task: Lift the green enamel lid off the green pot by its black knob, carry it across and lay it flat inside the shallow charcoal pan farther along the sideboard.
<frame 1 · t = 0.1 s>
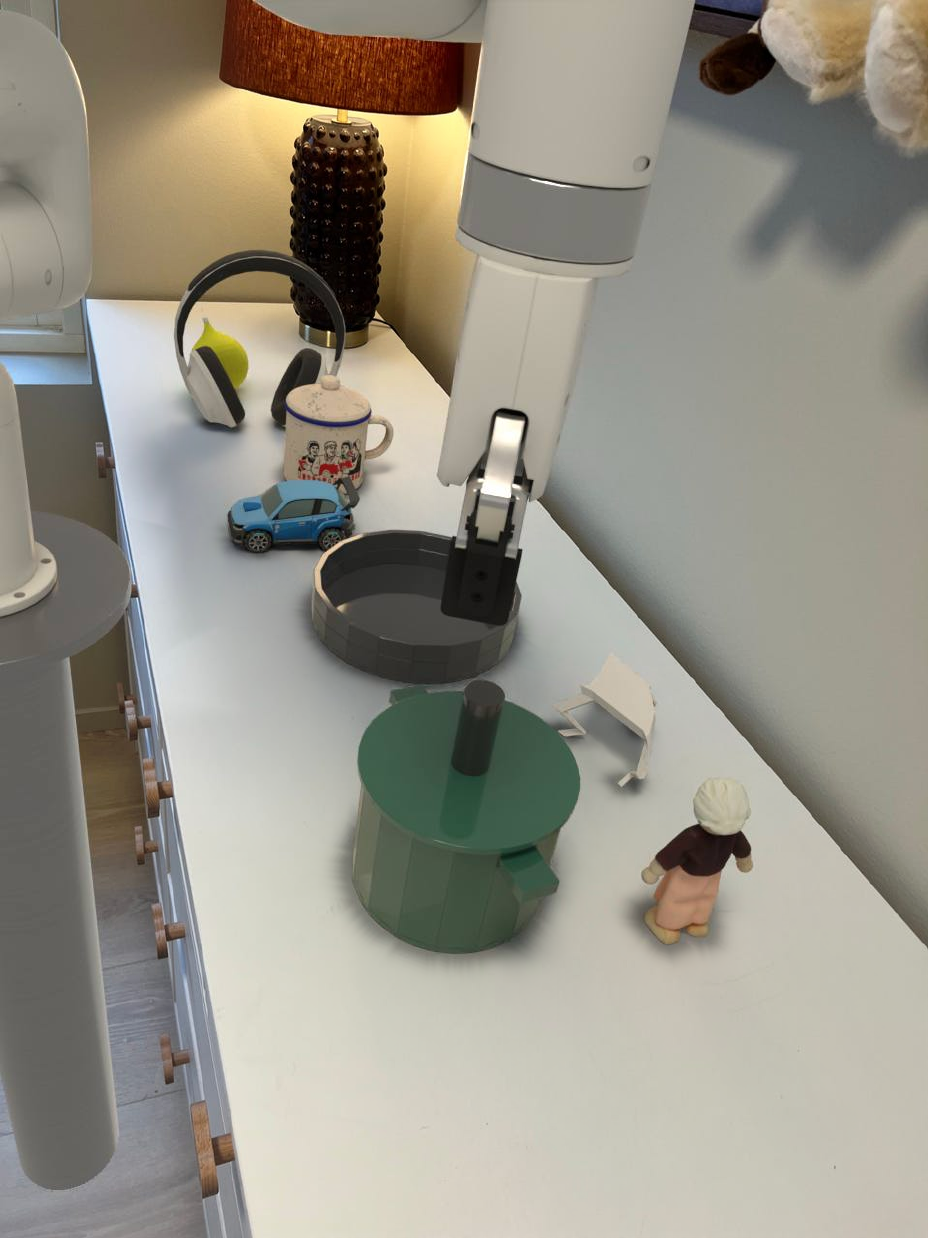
hand: (484, 564, 50), 25 cm above the dresser top, tool pointing down, fingers open, 9 cm apart
origami figure: (608, 747, 78), on the dresser top
headphones: (259, 424, 116), on the dresser top
teacup with lid: (335, 479, 108), on the dresser top
lid: (469, 768, 59), point 9 cm above the dresser top, touching pot
pan: (413, 619, 88), on the dresser top
toy car: (290, 539, 96), on the dresser top
yellow-green teardrop shape: (219, 391, 122), on the dresser top
grandmother figurine: (669, 926, 64), on the dresser top
pot: (447, 872, 65), on the dresser top
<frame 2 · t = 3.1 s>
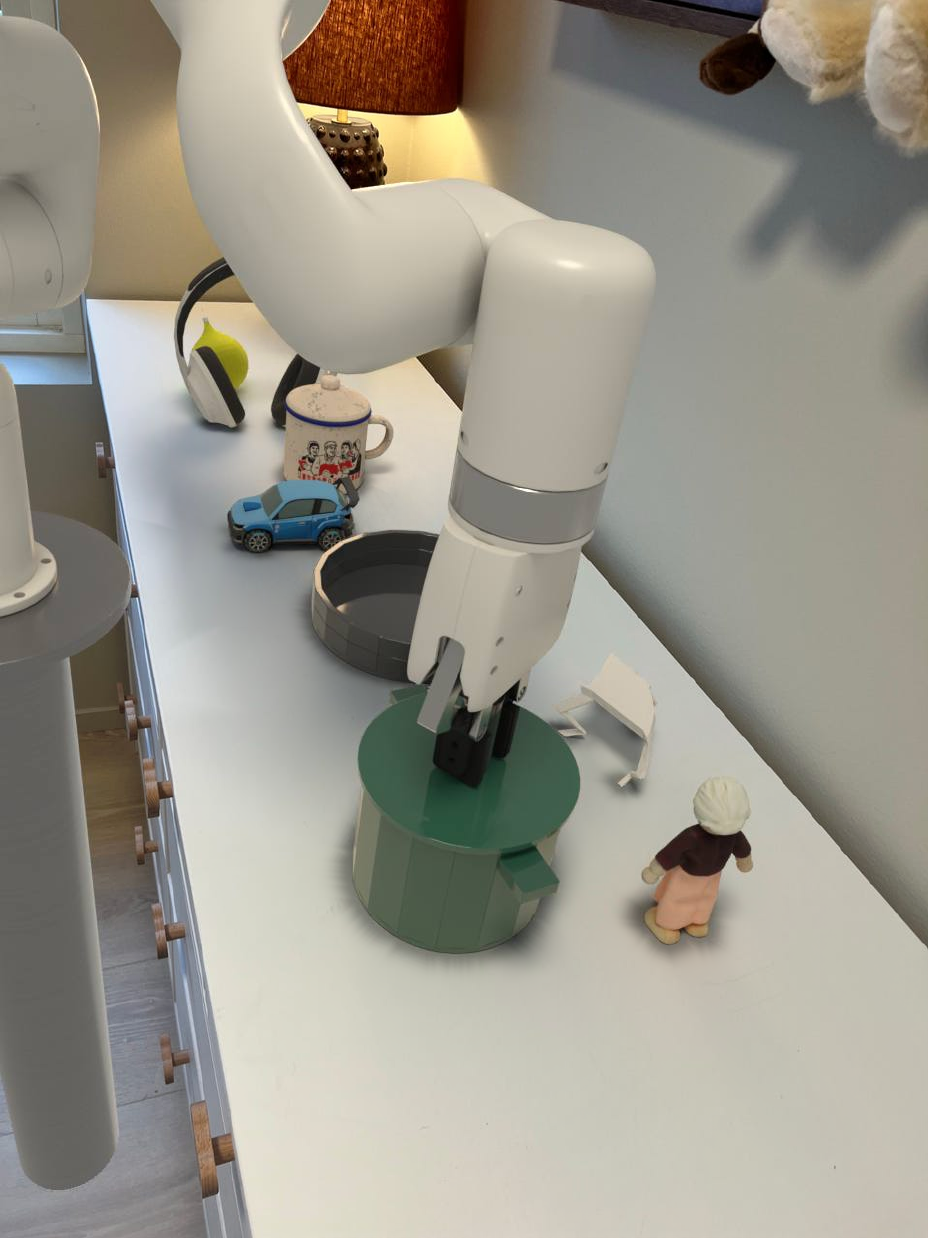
hand: (471, 758, 59), 10 cm above the dresser top, tool pointing down, fingers closed on lid, 2 cm apart
lid: (469, 768, 59), point 10 cm above the dresser top, touching gripper, pot
everything else where it was.
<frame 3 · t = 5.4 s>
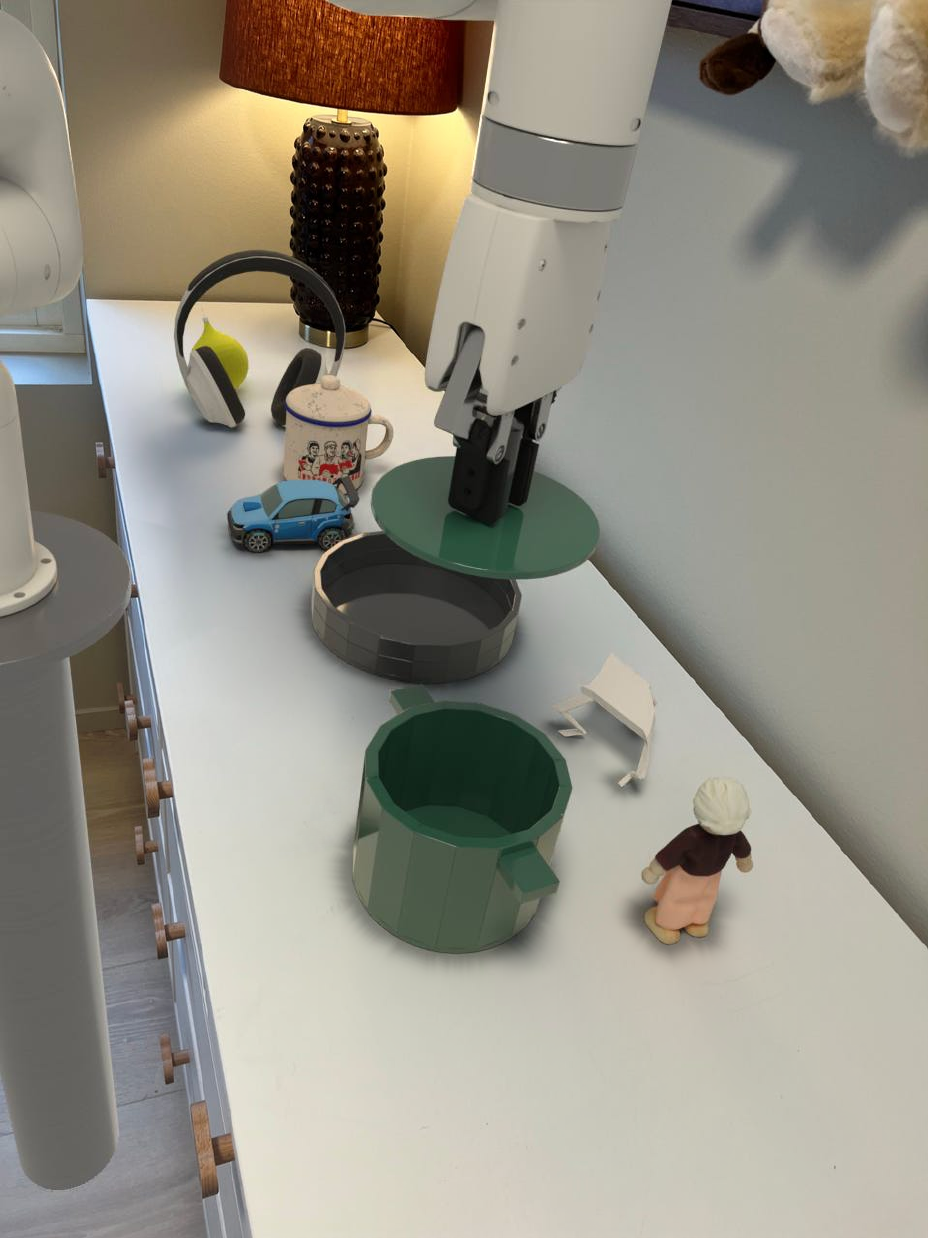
hand: (487, 502, 57), 24 cm above the dresser top, tool pointing down, fingers closed on lid, 2 cm apart
lid: (485, 516, 58), point 23 cm above the dresser top, touching gripper
everything else where it was.
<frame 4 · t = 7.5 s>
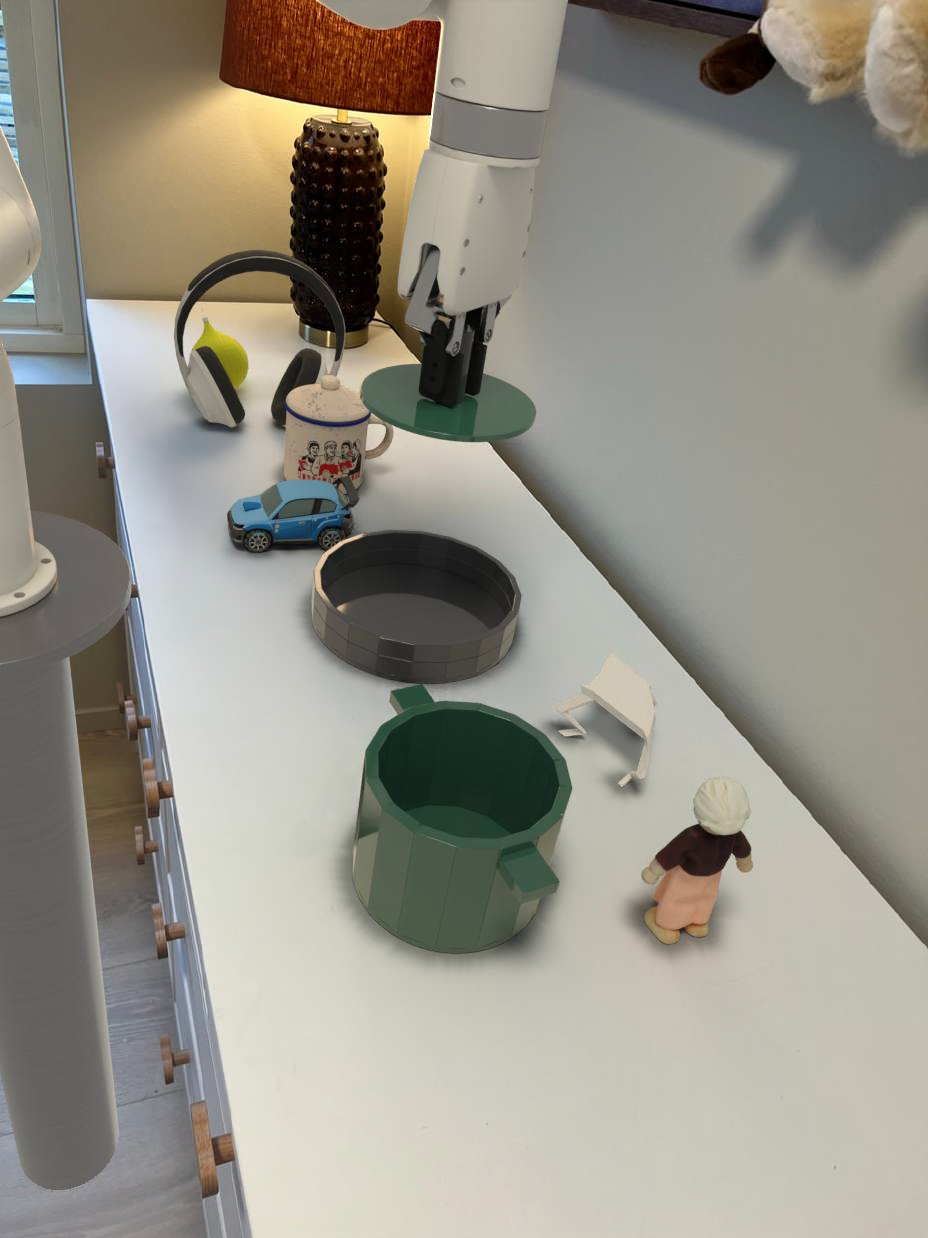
hand: (449, 392, 74), 22 cm above the dresser top, tool pointing down, fingers closed on lid, 2 cm apart
lid: (448, 403, 75), point 21 cm above the dresser top, touching gripper
everything else where it was.
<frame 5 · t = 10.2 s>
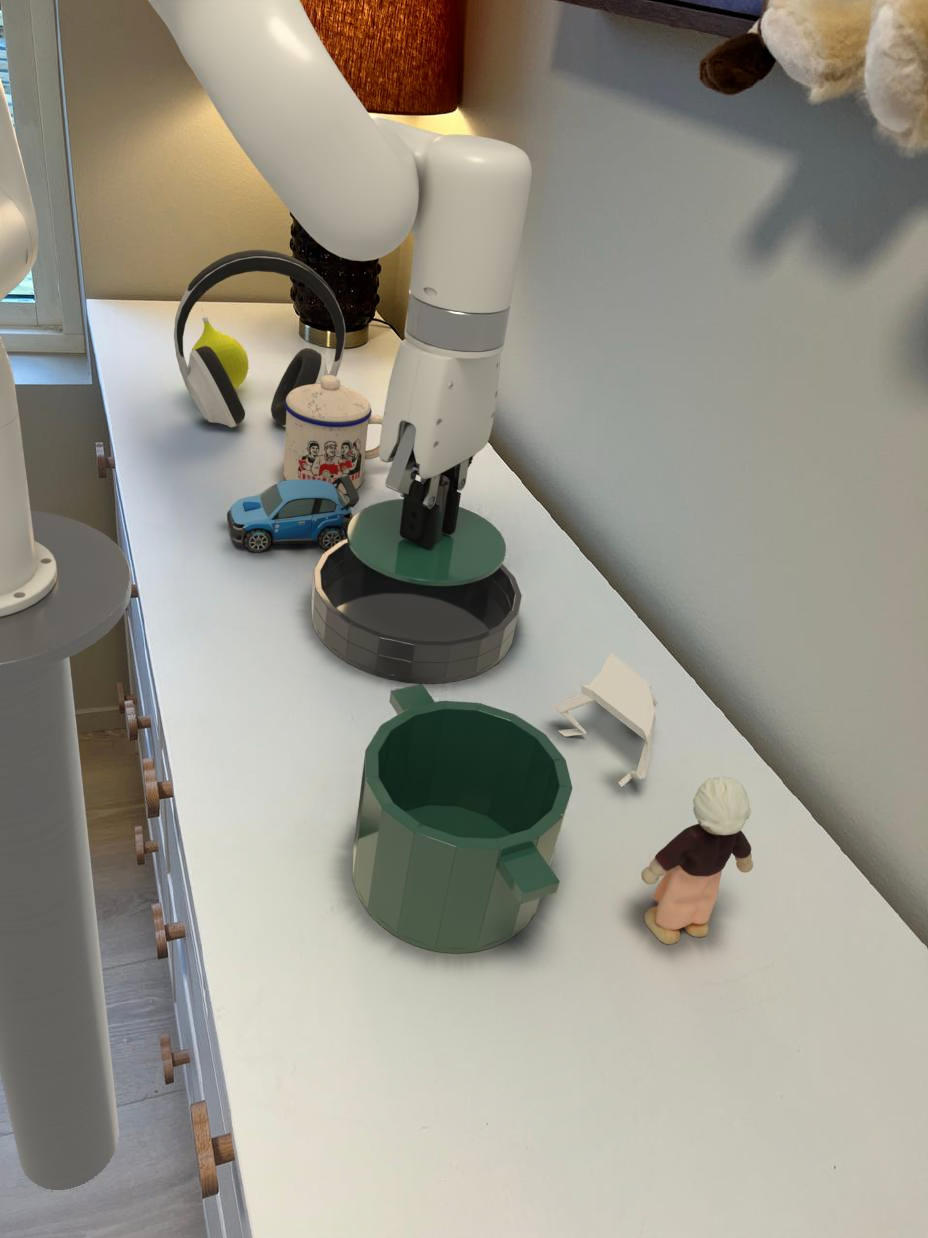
hand: (427, 533, 83), 9 cm above the dresser top, tool pointing down, fingers closed on lid, 2 cm apart
lid: (426, 542, 83), point 8 cm above the dresser top, touching gripper
everything else where it was.
when the fingers open (2 cm above the dresser top, at t = 12.0 s): lid stays where it is, resting on pan.
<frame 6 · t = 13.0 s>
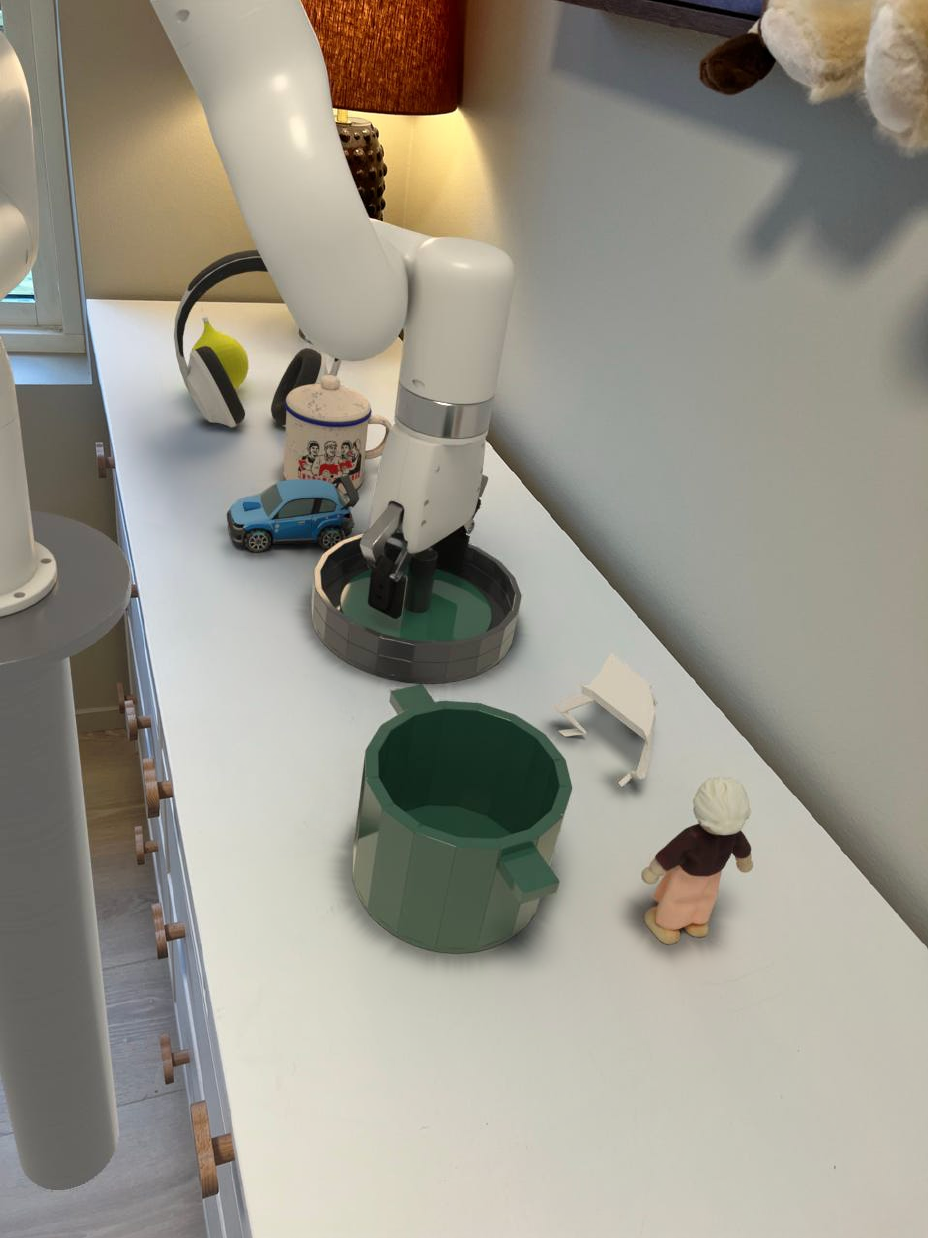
hand: (417, 588, 86), 3 cm above the dresser top, tool pointing down, fingers open, 9 cm apart
lid: (416, 609, 87), point 1 cm above the dresser top, touching pan
everything else where it was.
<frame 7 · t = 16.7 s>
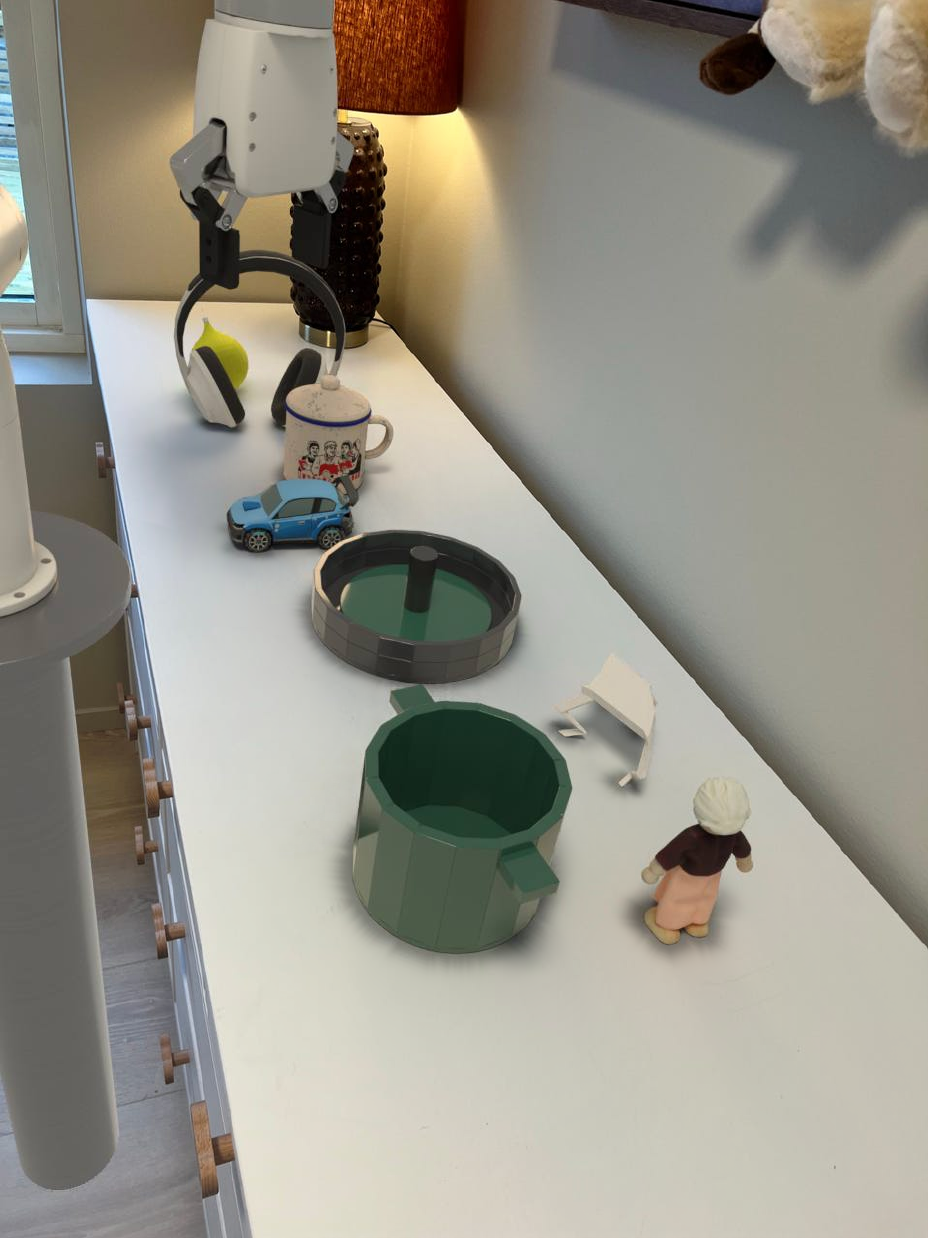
hand: (266, 272, 72), 28 cm above the dresser top, tool pointing down, fingers open, 9 cm apart
nothing on the dresser top moved.
at the end: lid 0.1 cm off-centre in the pan, point 1.1 cm above the pan's base; lid tilted 0° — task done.
